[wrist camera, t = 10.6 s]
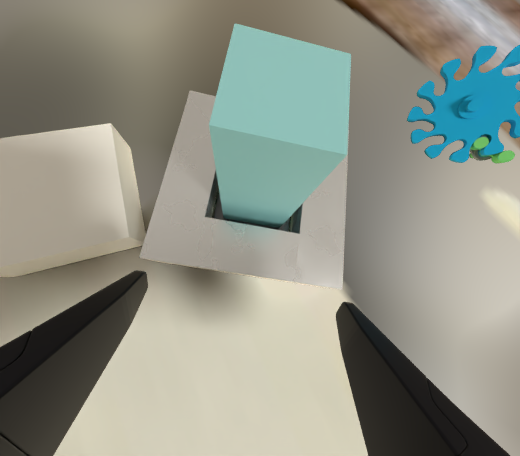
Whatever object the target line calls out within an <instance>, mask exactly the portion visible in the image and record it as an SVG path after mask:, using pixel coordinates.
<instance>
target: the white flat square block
mask: <svg viewBox="0 0 520 456" xmlns="http://www.w3.org/2000/svg"><path fill="white" fill-rule="evenodd" d="M145 236H146V232H145V227H144V221H143V215H142V210H141V204H140V199H139V193H138V188H137V182H136V177H135V171H134V165H133V160H132V154H131V149H130V147H129V146H128V144H127V143H126V142H125V141H124V139H123V138H122V137H121V136H120V134H119V133H118V132H117V130H116V129H115V128H114V127H113V125H112V124H111V123H109V124H102V125H95V126H88V127H79V128H72V129H65V130H57V131H50V132H42V133H35V134H28V135H20V136H13V137H6V138H0V277H17V276H21V275H25V274H29V273H34V272H38V271H42V270H46V269H50V268H54V267H58V266H62V265H66V264H70V263H74V262H78V261H82V260H86V259H90V258H94V257H98V256H102V255H107V254H111V253H115V252H119V251H123V250H127V249H131V248H135V247H139V246H143V243H144V240H145Z"/></svg>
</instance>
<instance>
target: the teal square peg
mask: <svg viewBox="0 0 520 456" xmlns="http://www.w3.org/2000/svg"><path fill="white" fill-rule="evenodd" d="M350 68H351V54H349V53H345V52H341V51H338V50H334V49H330V48H326V47H322V46H319V45H315V44H311V43H307V42H303V41H299V40H296V39H292V38H288V37H285V36H281V35H277V34H273V33H270V32H266V31H262V30H258V29H254V28H250V27H247V26H243V25H239V24H235V25H234V29H233V33H232V36H231V40H230V45H229V48H228V52H227V56H226V60H225V64H224V68H223V72H222V76H221V80H220V84H219V87H218V91H217V95H216V99H215V103H214V107H213V111H212V115H211V118H210V122H209V129H210V135H211V142H212V148H213V154H214V161H215V167H216V173H217V180H218V186H219V192H220V199H221V205H222V211H223V218H226V219H232V220H237V221H243V222H249V223H254V224H260V225H265V226H271V227H277V228H280V227H281V226H282V225H283V224H284V223H285V222H286V221H287V220H288V218H289V217H290V216H291V215H292V214H293V213H294V212H295V211H296V210H297V209H298V208H299V207H300V205H301V204H302V203H303V202H304V201H305V200H306V199H307V198H308V197H309V196H310V195H311V194H312V193H313V191H314V190H315V189H316V188H317V187H318V186H319V185H320V184H321V183H322V182H323V181H324V180H325V178H326V177H327V176H328V175H329V174H330V173H331V172H332V171H333V170H334V169H335V168H336V167H337V165H338V164H339V163H340V162H341V161H342V160H343V159H344V158H345V157H346V156H347V148H348V121H349V95H350Z"/></svg>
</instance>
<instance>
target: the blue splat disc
mask: <svg viewBox="0 0 520 456" xmlns="http://www.w3.org/2000/svg"><path fill="white" fill-rule="evenodd" d="M496 49H497V47H495V46H481V47H480V48H479V49H478V50H477V52H476V53H475V54H474V56H473V59H472V67H471V70H470V72H469V73H468V75H467V76H466V77H465V78H464V79H462V80H460V81H456V80H455V79H454V78H453V76H454V74H455V72H456V71H457V70H458V68H459V67H460V64H461V61H460V59H455V60H452V61H449V62H447V63H445V64H444V65H443V67H442V68H441V71H440V74H441V76H442V77H443V78H444V79H445V82H446V88H445V92H444V94H443V95H441V96H435V95H434V93H433V92H434V83H433V82H432V81H428V82H427V83H426V84H424V85H423V86H422V87H421V88H420V89H419V90H418V92H417V96H418V97H419V98H423V99H426V100H428V101H429V102H430V103H431V104H432V106H433V108H434V112H433V113H431V114H429V115H426V114H424V113H423V111H422V109H421V108H420V107H413V108H412V110H411V111H410V113H409V116H408V118H407V121H408V122H415V121H427V122H429V123H432V124H433V125H434V129H433V130H432V131H431V132H425V131H423V130H421V129H417V130H414V131H413V132H412V133H411V141H412V143H413V144H415V143H418V142H420V141H421V140H423V139H425V138H427V137H430V136H438V135H440V136H443V137H444V139H445V140H444V143H443V144H440V145H432V146H429V147H428V148H427V149H426V150H425V154H426V155H427V156H428V157H430V158H431V159H432V158H435V157H437V156H438V155H439V154H440V153H441V151H442V150H443V149H444V148H445V147H446V146H447V145H448V144H450V143H452V142H454V141H456V140H461V141H463V143H464V146H463V148H462V149H460V150H458V151H456V152H454V153H452V154H451V155H450V158H449V160H451V161H454V162H459V163H463V162H465V161H466V160H468V158H469V156H470V158H474V159H476V160H480V161H481V160H487V159H490V158H492V161H493V162H494V163H504V162H509V161H511V160H512V159H513V158H514V156H515V154H514V152H512V151H503V149H504V146H503V144H502V143H501V142H500V141H499V138H498V130H499V127H500V125H501V123H502V122H509V123H510V124H511V128H510V132H509V134H510V136H511V137H513V138H518V137H520V116H519V115H518V114H517V113H516V111H515V108H514V106H515V104H516V103H517V102H520V91H519V90H517V89H516V88H515V85H516V83H517V82H518V81H520V74H518V75H513V76H504V75H502V69H503V68H506V67H511V66H515V65H518V64H520V45H518V46H517V47H515V48H514V49H513V50H512V51H511V52H510V53H509V54H508V55H507V56H506V58H505V59H504V61H503V62H502V63H501V64H500V65H499V66H497V67H496V68H494V69H492V70H490V71H489V72H486V73H481V72H479V69H478V68H479V66H480V65H482V64H484V63H485V62H487V61H488V60H489V59H490V58H491V57H492V56H493V55H494V53H495V52H496ZM469 151H470V152H471V153H470V155H469ZM502 151H503V152H502Z"/></svg>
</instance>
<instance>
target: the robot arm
mask: <svg viewBox="0 0 520 456" xmlns="http://www.w3.org/2000/svg"><path fill="white" fill-rule="evenodd" d="M147 288H148V282H147V274H146V272H144V271H134V272H132V273H130V274H128V275H127V276H125V277H123V278H121V279H119V280H118V281H116V282H114V283H112V284H111V285H109V286H107V287H105V288H104V289H102V290H100V291H98V292H97V293H95V294H93V295H91V296H90V297H88V298H86V299H84V300H83V301H81V302H79V303H77V304H76V305H74V306H72V307H70V308H69V309H67V310H65V311H63V312H62V313H60V314H58V315H56V316H55V317H53V318H51V319H49V320H48V321H46V322H44V323H42V324H41V325H39V326H37V327H35V328H34V329H33V330H32V331H28V332H26V333H25V334H23V335H21V336H19V337H18V338H16V339H14V340H12V341H11V342H9V343H7V344H5V345H3V346H1V347H0V456H53V455H54V453H55V452H56V450H57V448H58V447H59V445H60V443H61V442H62V440H63V438H64V437H65V435H66V433H67V432H68V430H69V428H70V426H71V425H72V423H73V421H74V420H75V418H76V416H77V415H78V413H79V411H80V410H81V408H82V406H83V405H84V403H85V401H86V400H87V398H88V396H89V394H90V393H91V391H92V389H93V388H94V386H95V384H96V383H97V381H98V379H99V378H100V376H101V374H102V373H103V371H104V369H105V368H106V366H107V364H108V362H109V361H110V359H111V357H112V356H113V354H114V352H115V351H116V349H117V347H118V346H119V344H120V342H121V341H122V339H123V337H124V336H125V334H126V332H127V330H128V329H129V327H130V325H131V323H132V321H133V319H134V317H135V315H136V313H137V311H138V308H139V306H140V304H141V302H142V300H143V297H144V295H145V293H146V291H147ZM336 321H337V328H338V334H339V340H340V346H341V352H342V356H343V360H344V364H345V367H346V371H347V375H348V379H349V383H350V387H351V390H352V394H353V398H354V402H355V406H356V410H357V414H358V417H359V421H360V425H361V429H362V433H363V437H364V440H365V444H366V448H367V452H368V456H510V455H509V454H508V453H507V452H506V451H505V450H503V448H501V447H500V446H499V445H498V444H497V443H496V442H495V441H494V440H493V439H491V438H490V437H489V436H488V435H487V434H486V433H485V432H484V431H483V430H482V429H480V428H479V427H478V426H477V425H476V424H475V423H474V422H473V421H472V420H471V419H470V418H469V417H467V416H466V415H465V414H464V413H463V412H462V411H461V410H460V409H459V408H458V407H457V406H456V405H455V404H453V403H452V402H451V401H450V400H449V399H448V398H447V397H446V396H445V395H444V394H443V393H442V392H441V391H440V390H439V389H438V388H437V387H436V386H435V385H434V384H433V383H432V382H431V381H430V380H429V379H428V378H426V376H425V375H424V374H423V373H422V372H421V371H420V370H419V369H418V368H417V367H416V366H415V365H414V364H413V363H412V362H411V361H410V360H409V359H408V358H407V357H406V356H405V355H404V354H403V353H402V352H401V351H400V350H399V349H398V348H397V347H396V346H395V345H394V344H393V343H392V342H391V341H390V340H389V339H388V338H387V337H386V336H385V335H384V334H383V333H382V332H381V331H380V330H379V329H378V328H377V327H376V326H375V325H374V324H373V323H372V322H371V321H370V320H369V319H368V318H367V317H366V316H365V315H364V314H363V313H362V312H361V311H360V310H359V309H358V308H357V307H356V306H355V305H354V304H353V303H349V302H343V303H342V304H341V306H340V307H339V309H338V311H337V313H336Z"/></svg>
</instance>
